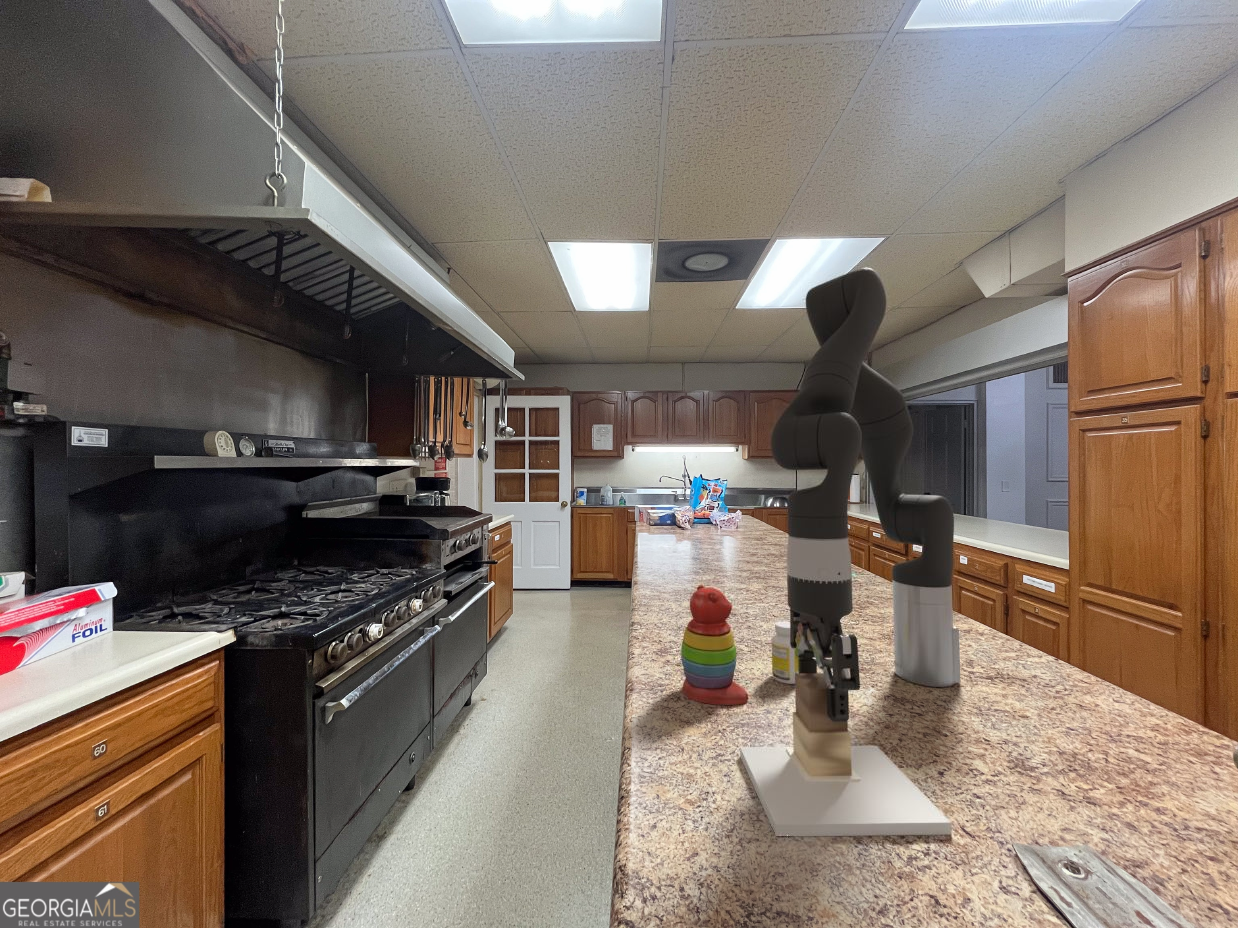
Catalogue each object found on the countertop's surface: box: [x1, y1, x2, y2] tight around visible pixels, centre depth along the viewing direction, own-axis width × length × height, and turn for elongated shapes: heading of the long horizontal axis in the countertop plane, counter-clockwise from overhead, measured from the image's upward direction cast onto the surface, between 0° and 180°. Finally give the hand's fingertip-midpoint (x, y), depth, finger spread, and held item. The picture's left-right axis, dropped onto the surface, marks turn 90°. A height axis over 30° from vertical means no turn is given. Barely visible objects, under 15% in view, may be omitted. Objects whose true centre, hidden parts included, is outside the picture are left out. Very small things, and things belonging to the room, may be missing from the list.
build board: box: [739, 745, 953, 837], centre depth 55 cm, size 18×14×1 cm
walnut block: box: [794, 672, 849, 732], centre depth 59 cm, size 4×4×5 cm
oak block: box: [792, 711, 852, 776], centre depth 58 cm, size 5×5×5 cm
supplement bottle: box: [771, 621, 799, 685], centre depth 86 cm, size 5×5×10 cm
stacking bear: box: [680, 584, 749, 706], centre depth 81 cm, size 11×10×18 cm
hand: (822, 702), depth 59 cm, fingers open, 8 cm apart
